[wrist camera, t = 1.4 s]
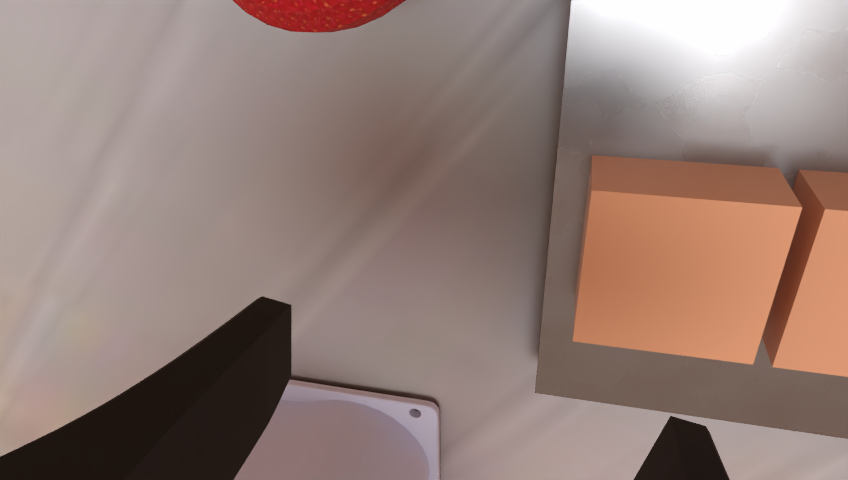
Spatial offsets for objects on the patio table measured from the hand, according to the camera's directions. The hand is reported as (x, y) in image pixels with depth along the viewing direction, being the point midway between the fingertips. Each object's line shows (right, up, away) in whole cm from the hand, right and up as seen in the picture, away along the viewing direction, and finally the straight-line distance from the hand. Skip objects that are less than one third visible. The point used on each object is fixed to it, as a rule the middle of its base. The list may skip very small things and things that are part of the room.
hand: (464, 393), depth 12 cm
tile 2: (+7, +3, +7) cm, 10 cm away
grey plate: (+9, +4, +8) cm, 13 cm away
